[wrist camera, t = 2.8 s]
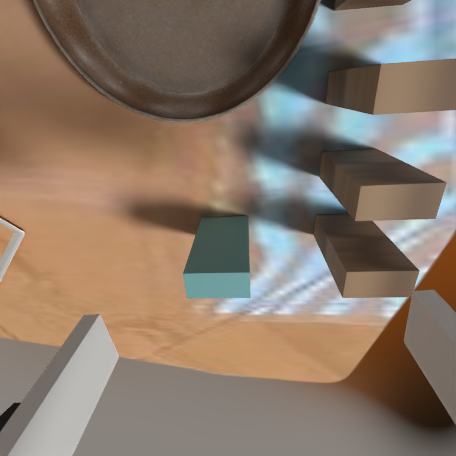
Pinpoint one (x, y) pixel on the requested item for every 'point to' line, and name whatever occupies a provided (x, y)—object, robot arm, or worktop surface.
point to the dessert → (10, 247)
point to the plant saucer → (179, 50)
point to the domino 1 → (219, 259)
